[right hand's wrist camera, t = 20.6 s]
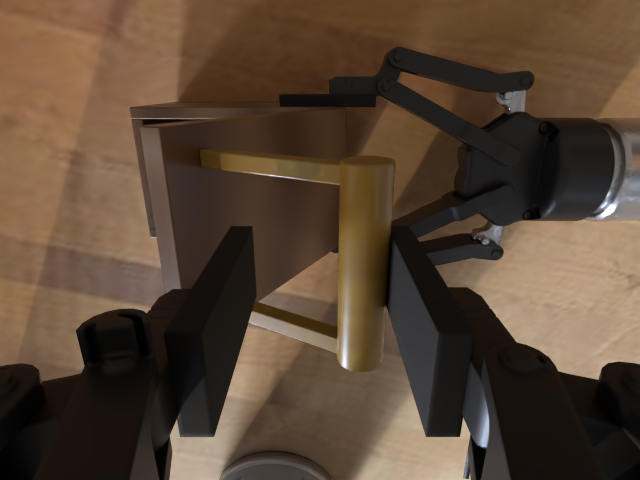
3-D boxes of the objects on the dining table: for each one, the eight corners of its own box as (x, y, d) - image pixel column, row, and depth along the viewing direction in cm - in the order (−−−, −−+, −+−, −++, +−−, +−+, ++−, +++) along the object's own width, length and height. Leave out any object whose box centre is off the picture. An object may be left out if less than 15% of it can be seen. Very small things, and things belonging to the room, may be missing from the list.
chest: (187, 204, 38) (150, 238, 30) (175, 102, 35) (129, 107, 27) (334, 205, 38) (337, 238, 30) (335, 101, 35) (339, 107, 26)
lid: (172, 342, 18) (356, 420, 14) (138, 125, 14) (367, 141, 10) (331, 240, 29) (455, 265, 25) (332, 107, 26) (475, 111, 22)
